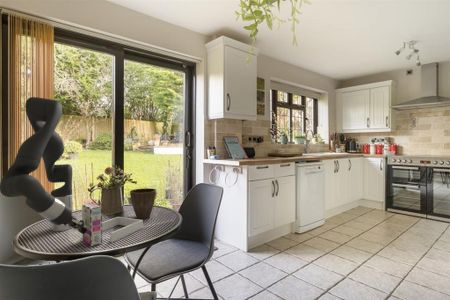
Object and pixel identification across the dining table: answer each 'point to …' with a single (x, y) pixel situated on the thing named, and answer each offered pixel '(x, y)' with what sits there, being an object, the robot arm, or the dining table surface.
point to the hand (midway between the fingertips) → (84, 231)
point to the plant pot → (143, 202)
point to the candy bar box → (92, 224)
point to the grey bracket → (130, 227)
